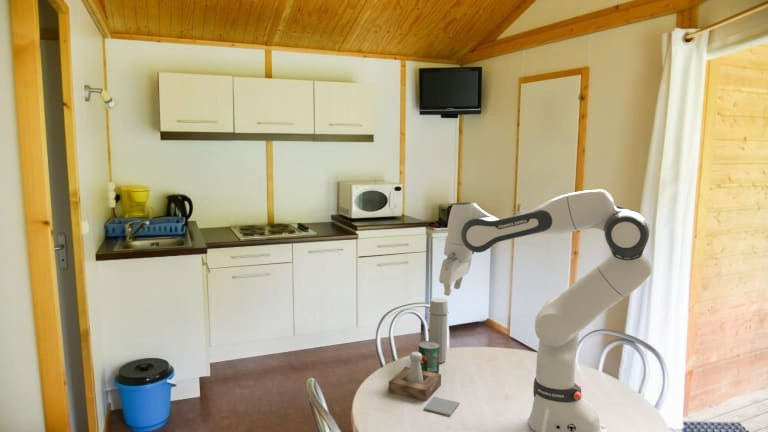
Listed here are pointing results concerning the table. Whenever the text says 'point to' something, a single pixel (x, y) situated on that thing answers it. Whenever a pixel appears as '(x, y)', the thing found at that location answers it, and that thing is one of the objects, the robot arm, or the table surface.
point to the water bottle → (439, 325)
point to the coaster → (441, 406)
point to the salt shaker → (415, 368)
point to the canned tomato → (429, 356)
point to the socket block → (415, 385)
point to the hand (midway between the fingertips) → (452, 291)
